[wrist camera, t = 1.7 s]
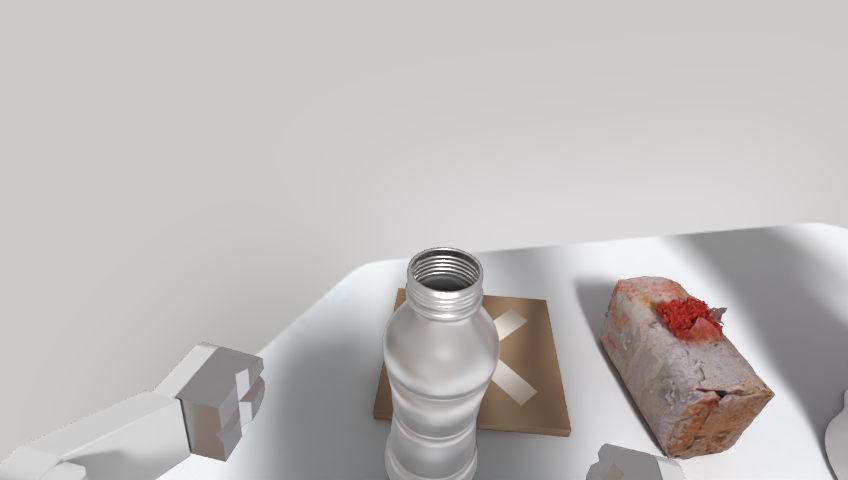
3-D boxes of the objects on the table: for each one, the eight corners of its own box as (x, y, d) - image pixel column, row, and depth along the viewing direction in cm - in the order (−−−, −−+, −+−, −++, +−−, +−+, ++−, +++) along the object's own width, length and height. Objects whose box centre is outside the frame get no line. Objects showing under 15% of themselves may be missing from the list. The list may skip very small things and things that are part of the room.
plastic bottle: (388, 431, 36) (381, 229, 24) (471, 433, 36) (505, 233, 24) (381, 518, 31) (367, 314, 19) (478, 521, 31) (525, 319, 19)
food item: (583, 332, 45) (610, 257, 39) (656, 327, 46) (692, 253, 40) (655, 465, 34) (707, 388, 28) (748, 454, 35) (817, 377, 29)
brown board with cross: (544, 307, 48) (545, 300, 47) (568, 437, 36) (571, 430, 35) (398, 295, 49) (398, 288, 48) (374, 417, 37) (373, 410, 36)
